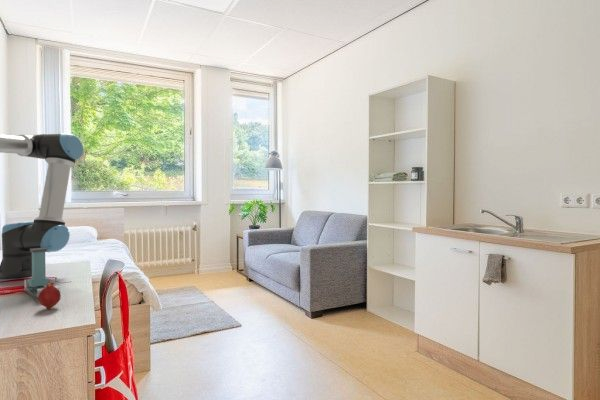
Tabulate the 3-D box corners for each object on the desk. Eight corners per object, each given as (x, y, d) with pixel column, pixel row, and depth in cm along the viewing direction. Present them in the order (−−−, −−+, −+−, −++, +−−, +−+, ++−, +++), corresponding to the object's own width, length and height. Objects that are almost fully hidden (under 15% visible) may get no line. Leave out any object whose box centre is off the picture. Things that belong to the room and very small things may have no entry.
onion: (41, 307, 117) (40, 282, 117) (62, 305, 120) (62, 280, 119) (36, 312, 112) (35, 286, 112) (58, 310, 114) (58, 284, 114)
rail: (24, 290, 137) (24, 278, 137) (43, 287, 142) (43, 276, 141) (39, 302, 122) (39, 289, 122) (60, 298, 127) (60, 286, 126)
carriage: (28, 285, 134) (28, 248, 134) (45, 282, 138) (45, 247, 138) (31, 287, 131) (31, 250, 131) (48, 284, 135) (48, 248, 135)
